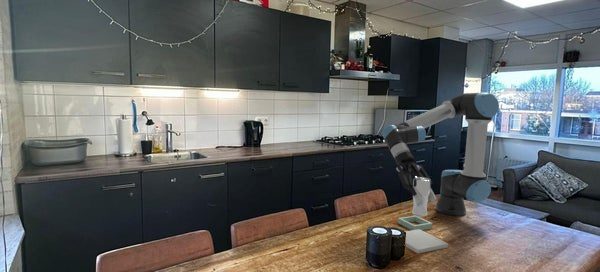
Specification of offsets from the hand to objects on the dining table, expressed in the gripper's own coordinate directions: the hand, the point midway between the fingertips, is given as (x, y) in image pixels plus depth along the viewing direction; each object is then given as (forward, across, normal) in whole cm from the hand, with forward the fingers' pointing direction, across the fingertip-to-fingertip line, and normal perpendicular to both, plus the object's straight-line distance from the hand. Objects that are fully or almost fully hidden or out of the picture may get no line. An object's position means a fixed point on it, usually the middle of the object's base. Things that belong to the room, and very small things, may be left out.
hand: (427, 201), depth 129 cm
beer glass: (+2, 0, -7) cm, 8 cm away
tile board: (+11, 0, -16) cm, 19 cm away
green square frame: (0, -12, -26) cm, 29 cm away
